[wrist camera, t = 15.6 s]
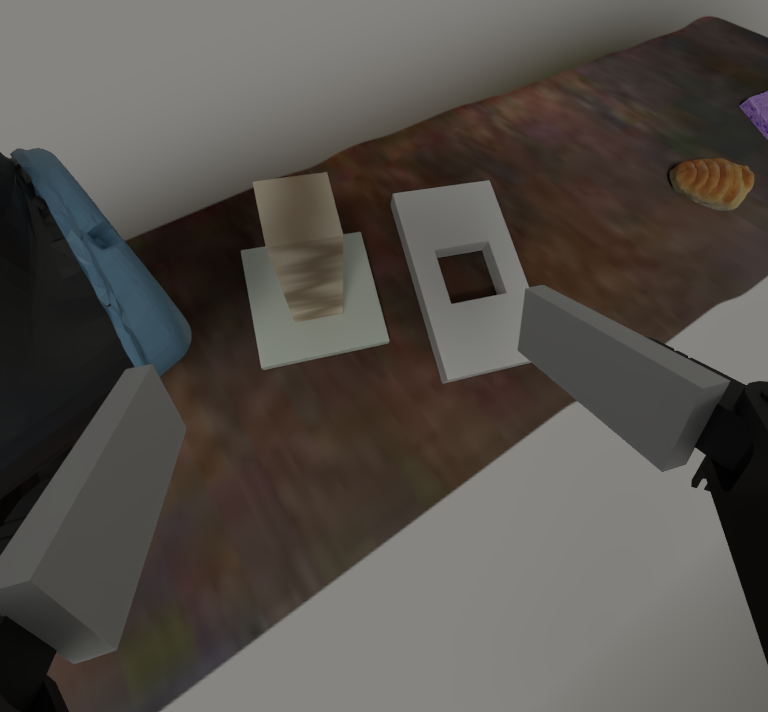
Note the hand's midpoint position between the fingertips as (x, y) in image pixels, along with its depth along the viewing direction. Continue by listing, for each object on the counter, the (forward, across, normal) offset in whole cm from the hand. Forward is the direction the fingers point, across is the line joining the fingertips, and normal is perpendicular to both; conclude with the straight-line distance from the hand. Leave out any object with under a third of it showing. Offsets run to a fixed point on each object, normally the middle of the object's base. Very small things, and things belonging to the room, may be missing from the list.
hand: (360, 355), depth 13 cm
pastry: (+29, +54, -4) cm, 61 cm away
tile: (+25, -1, -8) cm, 27 cm away
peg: (+25, -1, -7) cm, 26 cm away
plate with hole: (+25, +16, -8) cm, 31 cm away
